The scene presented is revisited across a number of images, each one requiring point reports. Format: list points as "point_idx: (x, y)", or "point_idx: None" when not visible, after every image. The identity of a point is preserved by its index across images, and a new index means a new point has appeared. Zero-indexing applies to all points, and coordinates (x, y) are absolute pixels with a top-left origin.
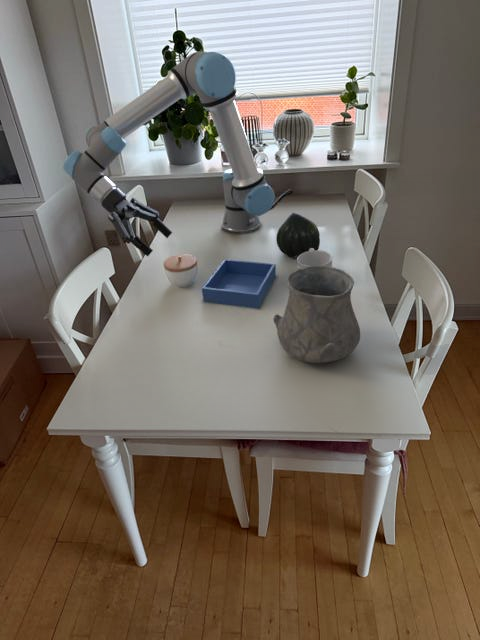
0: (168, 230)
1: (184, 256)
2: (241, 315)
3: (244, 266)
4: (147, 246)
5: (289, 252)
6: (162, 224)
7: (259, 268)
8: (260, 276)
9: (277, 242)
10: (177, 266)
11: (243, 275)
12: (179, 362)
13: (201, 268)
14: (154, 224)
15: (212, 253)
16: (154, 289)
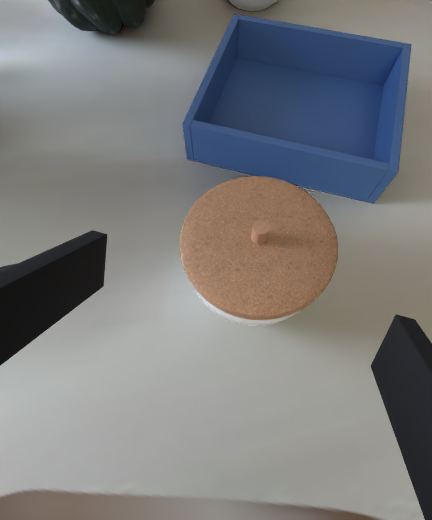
0: (91, 242)
1: (213, 224)
2: (426, 115)
3: (213, 88)
4: (426, 345)
5: (145, 3)
6: (43, 263)
7: (227, 59)
8: (231, 80)
9: (100, 5)
10: (315, 241)
11: (221, 114)
12: None
13: (149, 230)
14: (4, 347)
15: (38, 205)
16: (301, 386)
